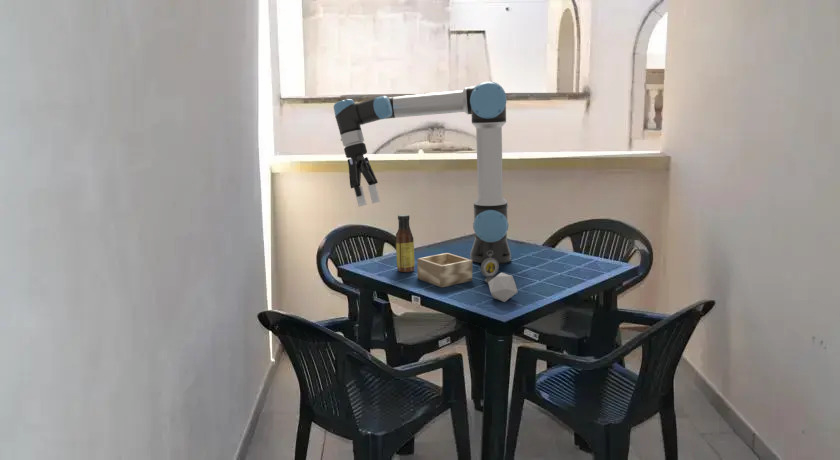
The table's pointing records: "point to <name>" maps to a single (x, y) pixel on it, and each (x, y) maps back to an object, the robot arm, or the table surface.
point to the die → (502, 287)
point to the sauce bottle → (404, 245)
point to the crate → (444, 269)
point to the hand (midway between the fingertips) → (369, 204)
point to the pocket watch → (489, 264)
